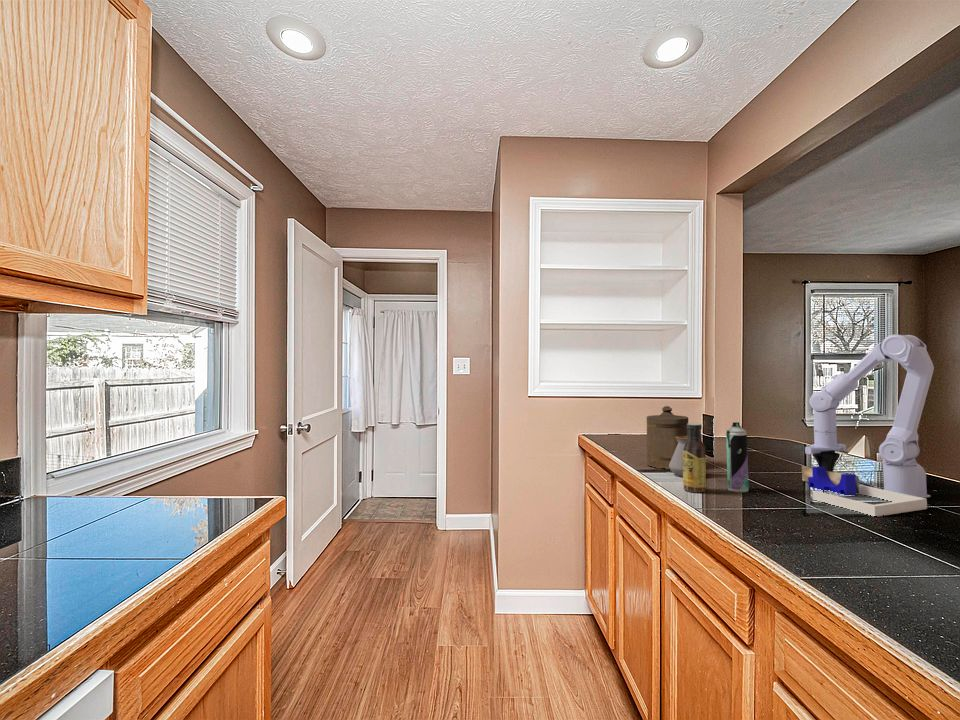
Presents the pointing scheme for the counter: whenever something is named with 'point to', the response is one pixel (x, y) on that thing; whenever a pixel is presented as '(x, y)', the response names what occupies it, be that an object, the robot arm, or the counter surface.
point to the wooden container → (664, 437)
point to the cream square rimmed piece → (896, 506)
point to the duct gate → (832, 476)
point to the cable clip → (823, 482)
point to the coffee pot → (678, 457)
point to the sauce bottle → (694, 460)
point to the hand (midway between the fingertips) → (826, 476)
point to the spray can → (737, 458)
